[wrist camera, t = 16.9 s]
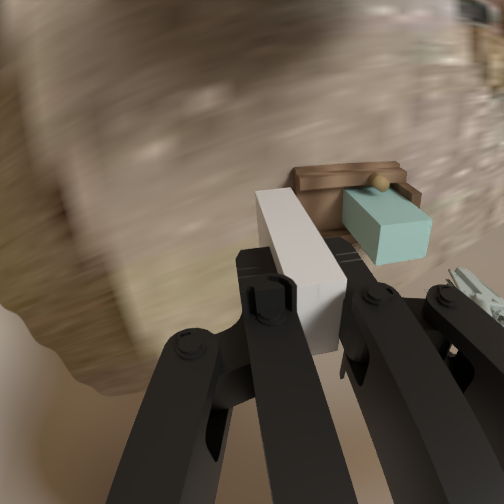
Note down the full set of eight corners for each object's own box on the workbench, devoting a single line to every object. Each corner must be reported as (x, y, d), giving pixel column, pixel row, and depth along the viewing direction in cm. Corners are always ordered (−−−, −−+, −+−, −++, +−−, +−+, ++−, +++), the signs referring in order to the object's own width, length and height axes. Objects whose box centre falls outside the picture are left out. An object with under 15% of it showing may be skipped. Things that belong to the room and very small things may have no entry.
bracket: (496, 274, 56) (548, 331, 39) (481, 299, 60) (528, 358, 43) (420, 254, 50) (487, 332, 33) (402, 287, 53) (458, 369, 36)
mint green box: (341, 222, 43) (375, 265, 34) (343, 188, 41) (380, 225, 31) (385, 217, 44) (425, 257, 34) (388, 185, 41) (432, 219, 32)
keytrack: (295, 242, 46) (309, 270, 39) (293, 167, 40) (309, 186, 34) (388, 230, 46) (411, 254, 40) (395, 161, 41) (423, 178, 35)
